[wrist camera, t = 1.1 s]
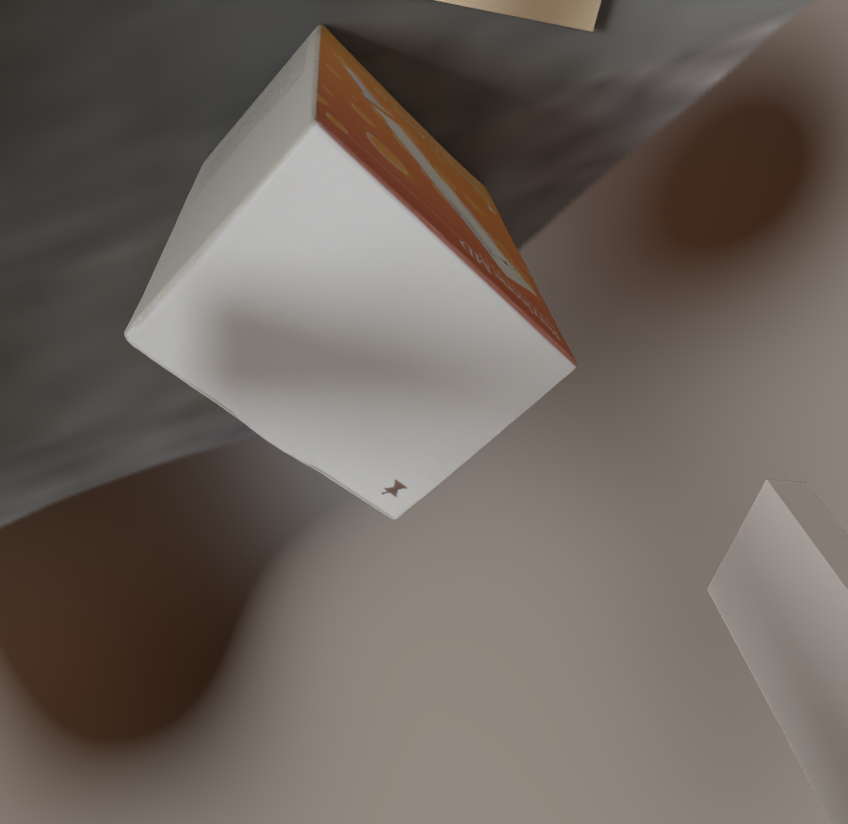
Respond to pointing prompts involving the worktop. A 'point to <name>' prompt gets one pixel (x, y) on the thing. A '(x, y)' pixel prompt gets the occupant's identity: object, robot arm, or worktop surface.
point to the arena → (542, 10)
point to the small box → (349, 288)
